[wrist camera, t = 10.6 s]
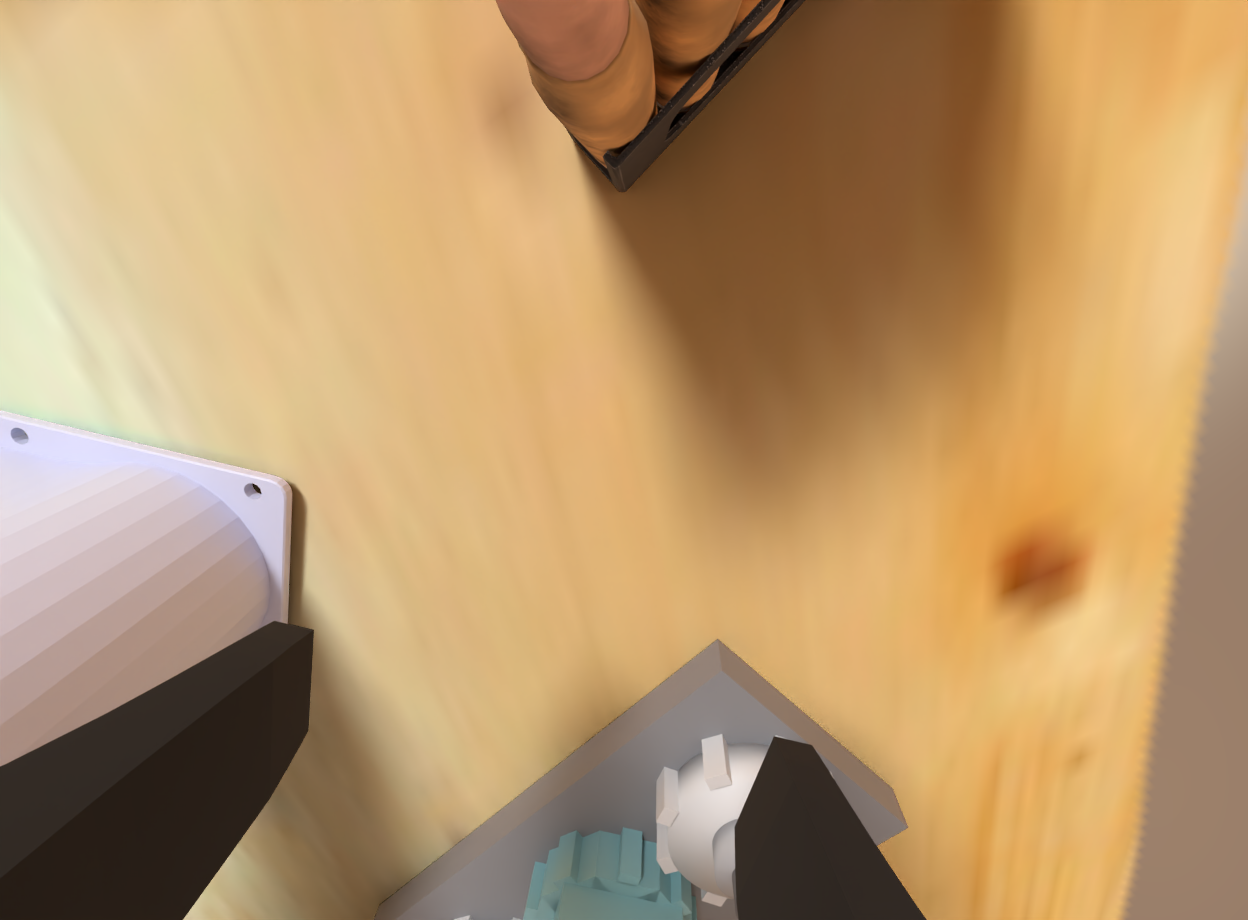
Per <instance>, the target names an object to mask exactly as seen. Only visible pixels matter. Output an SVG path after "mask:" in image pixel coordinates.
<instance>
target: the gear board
mask: <svg viewBox="0 0 1248 920" xmlns="http://www.w3.org/2000/svg"><path fill="white" fill-rule="evenodd" d="M774 736H775V737H780V738H784V739H788V740H793V741H797V742H801V743H806V744H810V745H812V746H813V747H814V749H815V750H816V752H817V753H818V755H819V756H820V758H821V759H822V761H823V762H824V764H825V766H826V767H827V769H828V770H829V772H830V773H831V775H832V777H833V778H834V780H835V781H836V783H837V785H838V786H839V788H840V789H841V791H842V793H843V794H844V796H845V797H846V799H847V800H848V802H849V804H850V805H851V807H852V808H853V810H854V811H855V813H856V815H857V816H858V818H859V819H860V821H861V822H862V824H863V826H864V827H865V829H866V830H867V832H868V833H869V835H870V837H871V838H872V840H873V841H874V843H875V844H876V846H877V845H879V844H881V843H883V842H884V841H886V840H888V839H889V838H891V837H893V836H895V835H896V834H898V833H900V832H901V831H903V830H905V829H907V828H908V825H907V823H906V821H905V818H904V816H903V813H902V811H901V808H900V806H899V803H898V801H897V798H896V796H895V794H894V791H893V789H892V788H891V787H890V786H889V785H888V784H886V783H885V782H884V781H883V780H882V779H881V778H879V777H878V776H877V775H876V774H875V773H874V772H872V771H871V770H870V769H869V768H868V767H867V766H865V765H864V764H863V763H862V762H861V761H860V760H858V759H857V758H856V757H855V756H854V755H853V754H851V753H850V752H849V751H848V750H847V749H846V748H844V747H843V746H842V745H841V744H840V743H839V742H837V741H836V740H835V739H834V738H833V737H832V736H830V735H829V734H828V733H827V732H826V731H824V730H823V729H822V728H821V727H820V726H819V725H817V724H816V723H815V722H814V721H813V720H812V719H810V718H809V717H808V716H807V715H806V714H805V713H803V712H802V711H801V710H800V709H799V708H798V707H796V706H795V705H794V704H793V703H792V702H791V701H789V700H788V699H787V698H786V697H785V696H784V695H782V694H781V693H780V692H779V691H778V690H777V689H775V688H774V687H773V686H772V685H771V684H770V683H768V682H767V681H766V680H765V679H764V678H763V677H761V676H760V675H759V674H758V673H757V672H756V671H754V670H753V669H752V668H751V667H750V666H749V665H747V664H746V663H745V662H744V661H743V660H742V659H740V658H739V657H738V656H737V655H736V654H735V653H733V652H732V651H731V650H730V649H729V648H728V647H726V646H725V645H724V644H723V643H722V642H721V641H719V640H718V639H717V640H716V641H715V642H713V643H712V644H711V645H710V646H708V647H707V648H706V649H705V650H703V651H702V652H701V653H699V654H698V655H697V656H696V657H694V658H693V659H692V660H691V661H689V662H688V663H687V664H685V665H684V666H683V667H682V668H680V669H679V670H678V671H677V672H675V673H674V674H673V675H671V676H670V677H669V678H668V679H666V680H665V681H664V682H663V683H661V684H660V685H659V686H658V687H656V688H655V689H654V690H652V691H651V692H650V693H649V694H647V695H646V696H645V697H644V698H642V699H641V700H640V701H638V702H637V703H636V704H635V705H633V706H632V707H631V708H630V709H628V710H627V711H626V712H624V713H623V714H622V715H621V716H619V717H618V718H617V719H616V720H614V721H613V722H612V723H610V724H609V725H608V726H607V727H605V728H604V729H603V730H602V731H600V732H599V733H598V734H596V735H595V736H594V737H593V738H591V739H590V740H589V741H588V742H586V743H585V744H584V745H582V746H581V747H580V748H579V749H577V750H576V751H575V752H574V753H572V754H571V755H570V756H568V757H567V758H566V759H565V760H563V761H562V762H561V763H560V764H558V765H557V766H556V767H555V768H553V769H552V770H551V771H549V772H548V773H547V774H546V775H544V776H543V777H542V778H541V779H539V780H538V781H537V782H535V783H534V784H533V785H532V786H530V787H529V788H528V789H527V790H525V791H524V792H523V793H521V794H520V795H519V796H518V797H516V798H515V799H514V800H513V801H511V802H510V803H509V804H507V805H506V806H505V807H504V808H502V809H501V810H500V811H499V812H497V813H496V814H495V815H493V816H492V817H491V818H490V819H488V820H487V821H486V822H485V823H483V824H482V825H481V826H479V827H478V828H477V829H476V830H474V831H473V832H472V833H471V834H469V835H468V836H467V837H465V838H464V839H463V840H462V841H460V842H459V843H458V844H457V845H455V846H454V847H453V848H452V849H450V850H449V851H448V852H446V853H445V854H444V855H443V856H441V857H440V858H439V859H438V860H436V861H435V862H434V863H432V864H431V865H430V866H429V867H427V868H426V869H425V870H424V871H422V872H421V873H420V874H418V875H417V876H416V877H415V878H413V879H412V880H411V881H410V882H408V883H407V884H406V885H404V886H403V887H402V888H401V889H399V890H398V891H397V892H396V893H394V894H393V895H392V896H390V897H389V898H388V899H387V900H385V901H384V902H383V903H382V904H380V906H379V908H378V911H377V913H376V915H375V918H374V920H523V917H524V912H525V907H526V902H527V897H528V892H529V887H530V882H531V877H532V873H533V869H534V865H535V861H536V862H540V863H545V864H546V863H547V859H548V855H549V851H550V850H552V849H555V848H557V847H559V841H560V837H561V836H563V835H566V834H568V833H571V832H573V831H576V830H577V831H578V832H579V833H580V835H581V836H582V837H585V836H588V835H590V834H593V833H595V832H598V831H599V830H601V831H604V832H609V833H613V834H618V835H621V832H622V829H623V827H624V828H629V829H633V830H638V831H642V840H645V841H650V842H654V843H657V862H658V863H659V865H660V867H661V868H662V870H663V872H664V873H665V874H668V873H672V872H676V871H679V872H680V873H681V874H682V875H683V876H684V877H685V878H686V879H687V880H688V881H690V882H691V896H695V897H696V910H697V920H739V919H738V911H737V903H736V877H735V830H734V827H735V825H736V822H737V820H738V818H739V816H740V813H741V811H742V809H743V806H744V804H745V802H746V799H747V797H748V795H749V792H750V790H751V788H752V786H753V783H754V781H755V779H756V776H757V774H758V772H759V769H760V767H761V765H762V763H763V760H764V758H765V756H766V753H767V751H768V749H769V746H770V744H771V742H772V739H773V737H774Z"/></svg>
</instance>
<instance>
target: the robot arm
mask: <svg viewBox="0 0 1248 920" xmlns="http://www.w3.org/2000/svg"><path fill="white" fill-rule="evenodd" d="M24 431H25V432H24ZM25 433H26V434H27V435H26V434H25ZM252 483H253V484H255V485H257V486H258V487H259V488H260V489H261V493H262V494H260V493H258V492H256V491H255V489H254V488H253V485H252ZM291 517H292V490H291V487H290V486H289V484H288V483H287V482H286V481H285V480H284V479H282V478H280V477H278V476H274V475H270V474H266V473H262V472H258V471H253V470H249V469H245V468H241V467H237V466H232V465H228V464H224V463H220V462H216V461H211V460H207V459H203V458H199V457H195V456H190V455H186V454H182V453H178V452H174V451H169V450H165V449H161V448H157V447H153V446H148V445H144V444H140V443H136V442H132V441H127V440H123V439H119V438H115V437H111V436H106V435H102V434H98V433H94V432H90V431H85V430H81V429H77V428H73V427H68V426H64V425H60V424H56V423H52V422H47V421H43V420H39V419H35V418H31V417H26V416H22V415H18V414H14V413H10V412H5V411H1V410H0V920H183V919H184V917H185V916H186V915H187V913H188V912H189V910H190V909H191V908H192V906H193V905H194V904H195V902H196V901H197V899H198V898H199V897H200V895H201V894H202V892H203V891H204V890H205V888H206V887H207V886H208V884H209V883H210V881H211V880H212V879H213V877H214V876H215V874H216V873H217V872H218V870H219V869H220V868H221V866H222V865H223V863H224V862H225V861H226V859H227V858H228V856H229V855H230V854H231V852H232V851H233V849H234V848H235V847H236V845H237V844H238V842H239V841H240V840H241V838H242V837H243V835H244V834H245V833H246V831H247V830H248V828H249V827H250V826H251V824H252V823H253V821H254V820H255V819H256V817H257V816H258V814H259V813H260V812H261V810H262V809H263V807H264V806H265V804H266V803H267V802H268V800H269V799H270V797H271V795H272V794H273V792H274V790H275V789H276V787H277V785H278V783H279V782H280V780H281V778H282V777H283V775H284V773H285V771H286V770H287V768H288V766H289V765H290V763H291V761H292V759H293V757H294V756H295V754H296V752H297V750H298V748H299V747H300V745H301V743H302V741H303V739H304V738H305V736H306V734H307V732H308V726H309V708H310V689H311V671H312V653H313V634H314V630H312V629H308V628H304V627H299V626H295V625H291V624H288V604H289V575H290V546H291ZM734 830H735V877H736V903H737V911H738V919H739V920H926V918H925V917H924V916H923V914H922V913H921V911H920V910H919V908H918V907H917V906H916V904H915V903H914V901H913V900H912V898H911V897H910V895H909V894H908V892H907V891H906V889H905V888H904V886H903V885H902V884H901V882H900V881H899V879H898V878H897V876H896V875H895V873H894V872H893V870H892V869H891V867H890V866H889V864H888V863H887V861H886V860H885V858H884V856H883V855H882V853H881V852H880V850H879V849H878V847H877V846H876V844H875V843H874V841H873V840H872V838H871V837H870V835H869V833H868V832H867V830H866V829H865V827H864V826H863V824H862V822H861V821H860V819H859V818H858V816H857V815H856V813H855V811H854V810H853V808H852V807H851V805H850V804H849V802H848V800H847V799H846V797H845V796H844V794H843V793H842V791H841V789H840V788H839V786H838V785H837V783H836V781H835V780H834V778H833V777H832V775H831V773H830V772H829V770H828V769H827V767H826V766H825V764H824V762H823V761H822V759H821V758H820V756H819V755H818V753H817V752H816V750H815V749H814V747H813V746H812V745H810V744H806V743H801V742H797V741H793V740H788V739H784V738H780V737H775V736H774V737H773V739H772V742H771V744H770V746H769V749H768V751H767V753H766V756H765V758H764V760H763V763H762V765H761V767H760V769H759V772H758V774H757V776H756V779H755V781H754V783H753V786H752V788H751V790H750V792H749V795H748V797H747V799H746V802H745V804H744V806H743V809H742V811H741V813H740V816H739V818H738V820H737V822H736V825H735V827H734Z"/></svg>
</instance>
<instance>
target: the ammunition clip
mask: <svg viewBox="0 0 1248 920" xmlns="http://www.w3.org/2000/svg"><path fill="white" fill-rule="evenodd" d="M804 1H805V0H496V2H497V4H498V7H499V9H500V12H501V14H502V16H503V18H504V20H505V22H506V23H507V25H508V27H509V28H510V30H511V31H512V33H513V35H514V36H515V38H516V39H517V41H518V44H519V47H520V48H521V50H522V52H523V53H524V55H525V57H526V61H527V65H528V69H529V73H530V76H531V80H532V84H533V86H534V87H535V89H536V90H537V92H538V93H539V95H540V97H541V98H542V100H543V101H544V103H545V105H546V106H547V108H548V109H549V110H550V111H551V112H552V113H553V114H554V115H555V116H556V117H557V118H558V119H559V121H560V122H561V123H562V124H563V125H564V126H565V128H566V129H567V131H568V133H569V134H570V136H571V138H572V139H573V140H574V141H575V142H576V143H577V145H578V146H579V147H580V148H581V149H582V150H583V151H584V152H585V154H586V155H587V156H588V157H589V158H590V159H591V160H592V161H593V163H594V164H595V165H596V166H597V167H598V168H599V169H600V170H601V172H602V173H603V174H604V175H605V176H606V177H607V178H608V179H609V180H610V182H611V183H612V184H613V185H614V186H615V187H616V188H617V189H618V191H619V192H626V191H627V189H628V188H629V187H630V186H631V185H632V184H633V183H634V182H635V181H636V180H637V179H638V178H639V177H640V176H641V175H642V173H643V172H644V171H645V170H646V169H647V168H648V167H649V166H650V165H651V164H652V163H653V162H654V161H655V160H656V159H657V158H658V156H659V155H660V154H661V153H662V152H663V151H664V150H665V149H666V148H667V147H668V146H669V145H670V144H671V143H672V142H673V140H674V139H675V138H676V137H677V136H678V135H679V134H680V133H681V132H682V131H683V130H684V129H685V128H686V127H687V126H688V125H689V123H690V122H691V121H692V120H693V119H694V118H695V117H696V116H697V115H698V114H699V113H700V112H701V111H702V110H703V109H704V107H705V106H706V105H707V104H708V103H709V102H710V101H711V100H712V99H713V98H714V97H715V96H716V95H717V94H718V93H719V92H720V90H721V89H722V88H723V87H724V86H725V85H726V84H727V83H728V82H729V81H730V80H731V79H732V78H733V77H734V76H735V74H736V73H737V72H738V71H739V70H740V69H741V68H742V67H743V66H744V65H745V64H746V63H747V62H748V61H749V60H750V59H751V57H752V56H753V55H754V54H755V53H756V52H757V51H758V50H759V49H760V48H761V47H762V46H763V45H764V44H765V43H766V41H767V40H768V39H769V38H770V37H771V36H772V35H773V34H774V33H775V32H776V31H777V30H778V29H779V28H780V27H781V26H782V24H783V23H784V22H785V21H786V20H787V19H788V18H789V17H790V16H791V15H792V14H793V13H794V12H795V11H796V10H797V8H798V7H799V6H800V5H801V4H802V3H803V2H804Z"/></svg>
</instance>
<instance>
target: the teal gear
mask: <svg viewBox="0 0 1248 920" xmlns="http://www.w3.org/2000/svg"><path fill="white" fill-rule="evenodd" d="M523 920H697V910H696V897H695V896H691V882H690V881H688V880H687V879H686V878H685V877H684V876H683V875H682V874H681V873H680V872H679V871H676V872H672V873H668V874H665V873H664V872H663V870H662V868H661V867H660V865H659V863H658V862H657V843H654V842H650V841H645V840H642V831H638V830H633V829H629V828H624V827H623V829H622V832H621V835H618V834H613V833H609V832H604V831H601V830H599V831H598V832H595V833H593V834H590V835H588V836H585V837H582V836H581V835H580V833H579V832H578V831H577V830H576V831H573V832H571V833H568V834H566V835H563V836H561V837H560V841H559V847H557V848H555V849H552V850H550V851H549V855H548V859H547V863H546V864H545V863H540V862H536V861H535V865H534V869H533V873H532V877H531V882H530V887H529V892H528V897H527V902H526V907H525V912H524V917H523Z"/></svg>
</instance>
